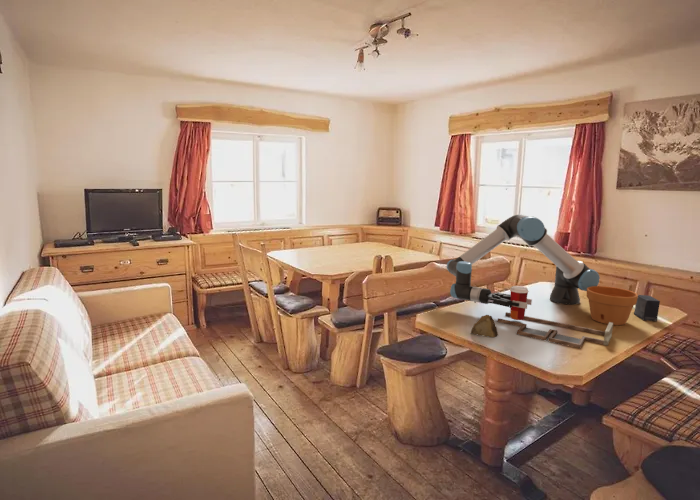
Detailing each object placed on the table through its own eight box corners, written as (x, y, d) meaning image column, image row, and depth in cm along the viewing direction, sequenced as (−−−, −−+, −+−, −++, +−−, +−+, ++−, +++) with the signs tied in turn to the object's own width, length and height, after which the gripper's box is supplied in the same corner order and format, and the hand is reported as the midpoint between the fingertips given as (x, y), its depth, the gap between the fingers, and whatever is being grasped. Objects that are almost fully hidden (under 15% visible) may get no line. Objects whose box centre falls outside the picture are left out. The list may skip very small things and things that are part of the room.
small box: (658, 321, 204) (661, 301, 202) (643, 320, 205) (645, 300, 204) (647, 315, 214) (650, 295, 213) (633, 314, 216) (635, 294, 214)
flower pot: (591, 310, 220) (594, 283, 217) (638, 320, 205) (642, 291, 203) (577, 320, 205) (580, 290, 203) (627, 331, 191) (631, 299, 188)
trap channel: (489, 328, 193) (490, 315, 192) (506, 314, 212) (507, 303, 211) (604, 353, 166) (606, 339, 165) (611, 335, 185) (613, 322, 184)
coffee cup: (525, 316, 205) (528, 286, 202) (526, 321, 197) (529, 290, 194) (507, 314, 207) (509, 284, 205) (507, 319, 200) (510, 289, 197)
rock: (464, 329, 184) (484, 333, 177) (470, 311, 187) (490, 314, 179) (477, 339, 190) (497, 343, 182) (483, 322, 193) (502, 325, 185)
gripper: (487, 298, 220) (534, 306, 206) (473, 307, 204) (522, 316, 191) (488, 284, 218) (535, 291, 205) (474, 292, 203) (523, 300, 189)
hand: (529, 303), depth 198 cm, fingers closed on coffee cup, 7 cm apart
